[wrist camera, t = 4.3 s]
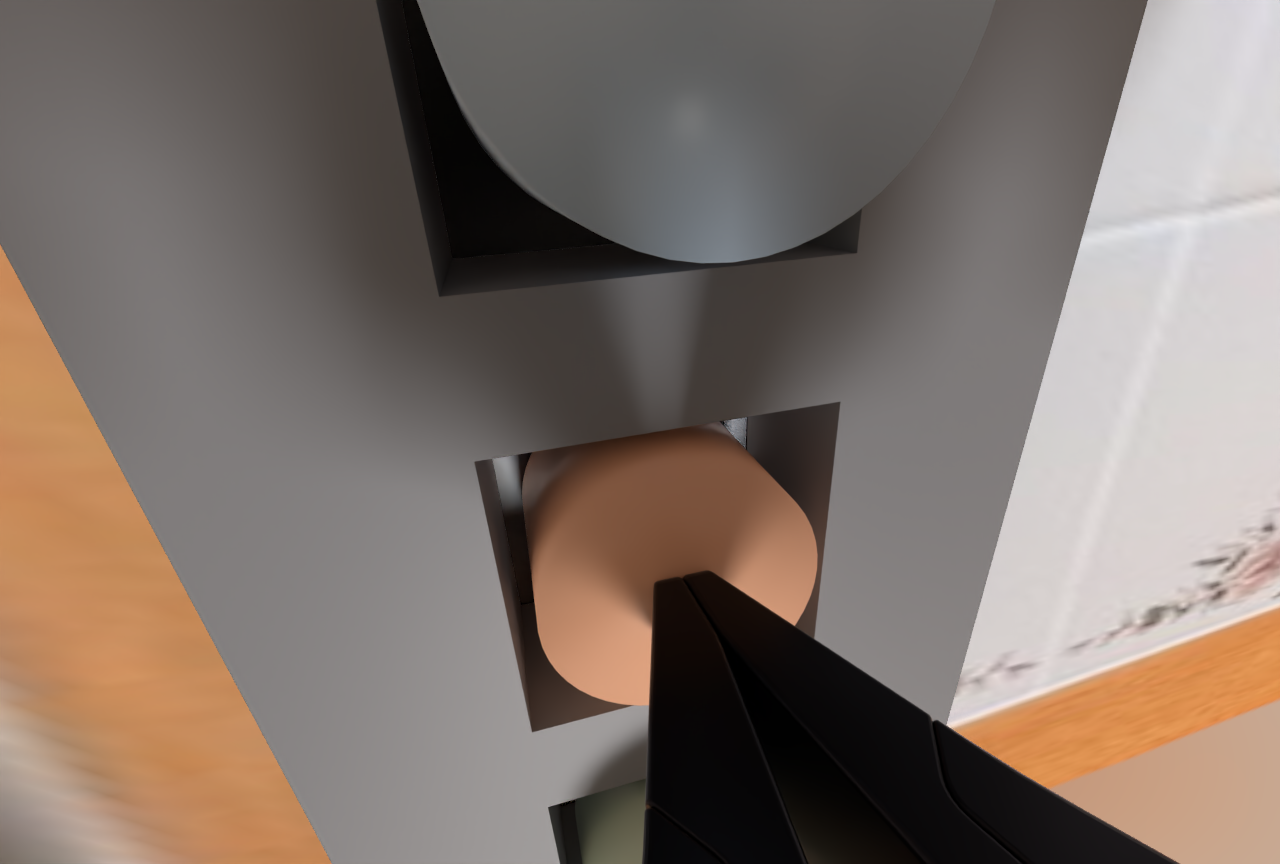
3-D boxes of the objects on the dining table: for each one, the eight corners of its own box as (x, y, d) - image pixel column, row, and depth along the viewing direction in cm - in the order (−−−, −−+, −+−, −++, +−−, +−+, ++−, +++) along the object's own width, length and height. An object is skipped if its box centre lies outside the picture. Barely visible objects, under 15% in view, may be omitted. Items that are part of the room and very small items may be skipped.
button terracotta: (731, 552, 12) (806, 667, 9) (538, 594, 11) (556, 734, 8) (735, 370, 10) (830, 445, 7) (504, 404, 9) (514, 502, 7)
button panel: (842, 755, 17) (908, 861, 14) (434, 880, 15) (424, 1036, 12) (1013, -308, 7) (1307, -573, 5) (-98, -453, 5) (-746, -1152, 2)
